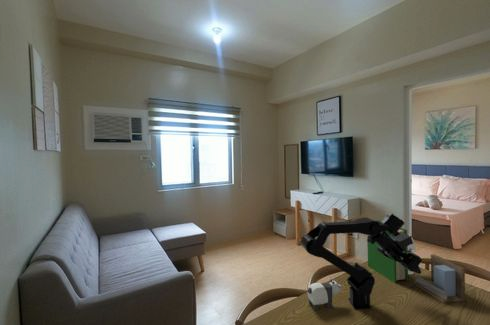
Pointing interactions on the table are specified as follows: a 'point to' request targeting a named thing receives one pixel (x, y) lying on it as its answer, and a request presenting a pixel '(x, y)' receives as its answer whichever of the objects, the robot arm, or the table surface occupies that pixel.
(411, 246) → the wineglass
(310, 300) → the giant panda
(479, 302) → the table surface
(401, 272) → the hardback book
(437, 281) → the blue-grey rectangular block
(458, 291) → the wooden display stand
